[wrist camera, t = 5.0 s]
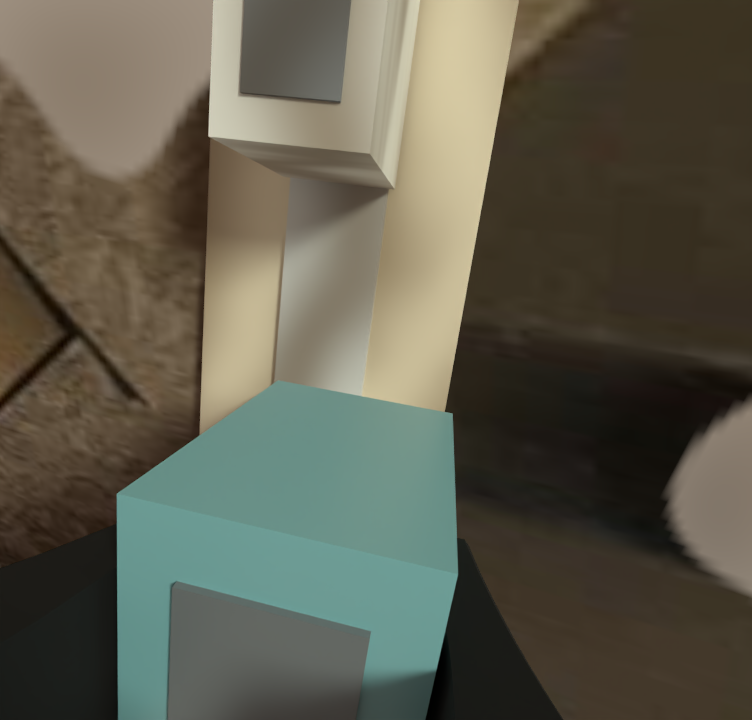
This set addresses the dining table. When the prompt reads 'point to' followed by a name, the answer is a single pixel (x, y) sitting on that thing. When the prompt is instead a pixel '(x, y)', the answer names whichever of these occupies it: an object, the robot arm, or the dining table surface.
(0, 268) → the dining table surface
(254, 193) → the board
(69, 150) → the dining table surface
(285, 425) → the teal module
